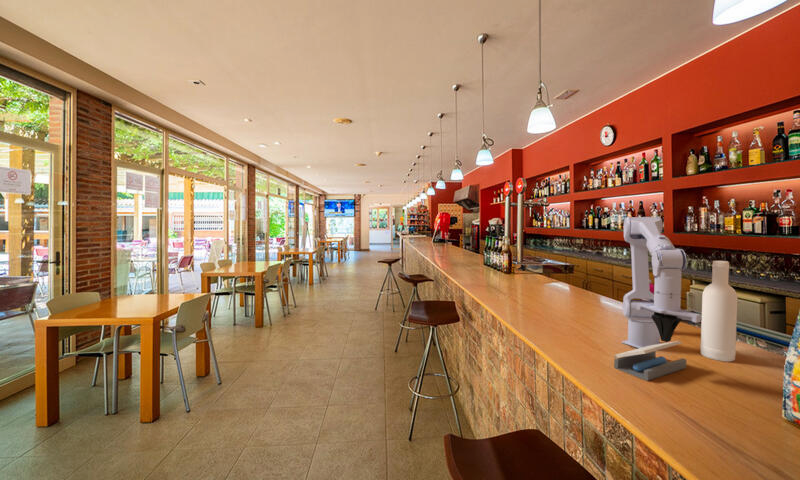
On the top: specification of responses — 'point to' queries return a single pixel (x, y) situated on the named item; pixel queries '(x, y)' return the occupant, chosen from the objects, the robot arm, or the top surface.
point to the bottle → (719, 316)
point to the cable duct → (650, 373)
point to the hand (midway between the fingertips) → (665, 340)
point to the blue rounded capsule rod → (649, 363)
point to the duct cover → (647, 349)
